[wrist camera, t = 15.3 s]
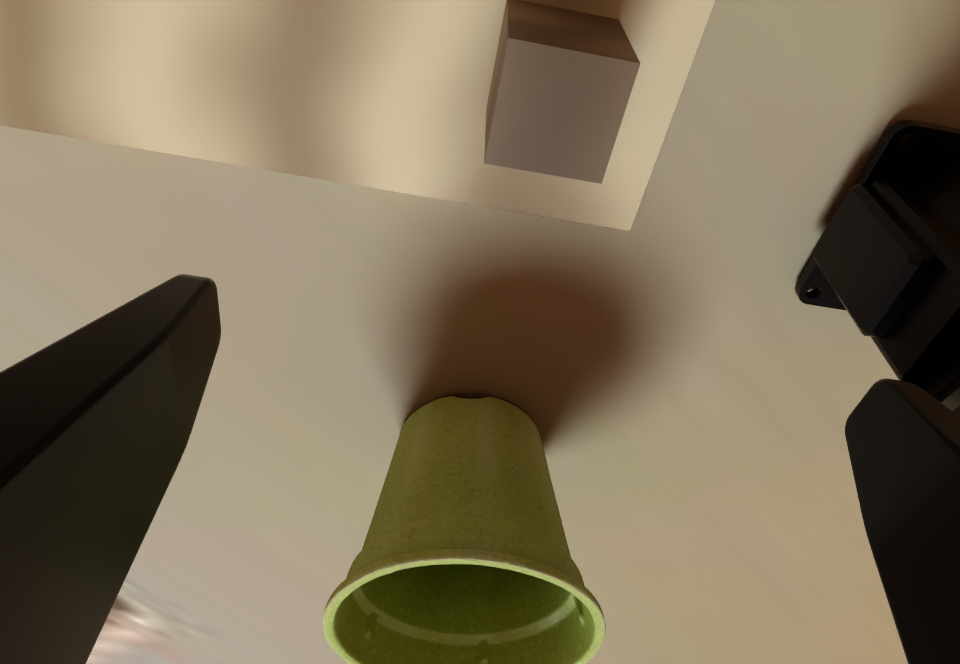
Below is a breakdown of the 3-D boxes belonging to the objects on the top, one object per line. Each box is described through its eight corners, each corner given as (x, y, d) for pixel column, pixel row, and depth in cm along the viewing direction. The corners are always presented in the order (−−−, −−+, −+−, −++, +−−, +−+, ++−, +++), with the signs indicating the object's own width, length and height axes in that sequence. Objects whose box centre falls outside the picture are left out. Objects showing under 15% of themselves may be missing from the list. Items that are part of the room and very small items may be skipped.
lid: (740, -105, 17) (804, -75, 13) (625, 215, 22) (648, 295, 19) (-101, -291, 15) (-285, -312, 11) (12, 110, 21) (-87, 178, 17)
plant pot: (465, 320, 25) (452, 521, 18) (625, 440, 29) (663, 640, 22) (320, 439, 29) (267, 635, 23) (476, 528, 33) (470, 716, 27)
